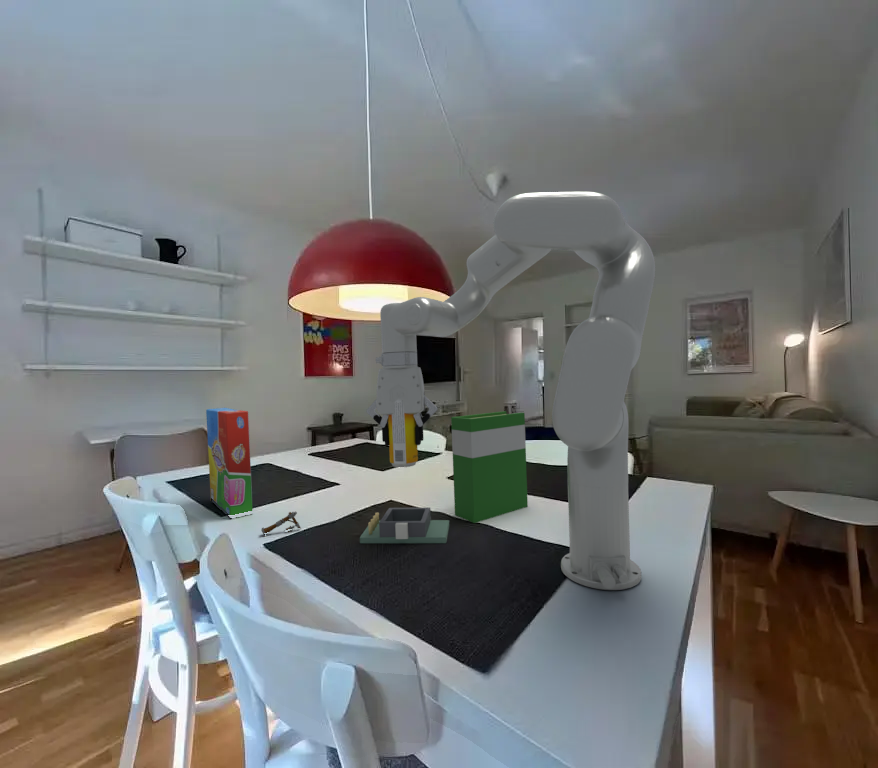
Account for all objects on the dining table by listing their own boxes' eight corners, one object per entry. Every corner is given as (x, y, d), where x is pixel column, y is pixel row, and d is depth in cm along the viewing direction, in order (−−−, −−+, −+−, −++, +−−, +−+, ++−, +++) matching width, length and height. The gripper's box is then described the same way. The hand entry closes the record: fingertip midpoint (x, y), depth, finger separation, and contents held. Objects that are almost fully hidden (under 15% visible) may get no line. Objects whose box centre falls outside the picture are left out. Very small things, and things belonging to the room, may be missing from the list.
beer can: (419, 461, 93) (417, 394, 92) (415, 467, 87) (412, 396, 86) (393, 462, 93) (390, 395, 93) (387, 468, 87) (384, 397, 87)
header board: (445, 544, 84) (445, 524, 84) (358, 544, 85) (357, 524, 85) (449, 525, 94) (448, 507, 94) (372, 525, 96) (371, 507, 96)
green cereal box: (507, 500, 111) (503, 411, 111) (527, 506, 105) (524, 412, 105) (454, 514, 101) (451, 417, 101) (474, 523, 95) (470, 419, 95)
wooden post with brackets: (304, 527, 95) (295, 510, 94) (270, 546, 92) (260, 529, 91) (304, 524, 96) (295, 508, 96) (271, 543, 94) (261, 527, 93)
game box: (210, 503, 119) (205, 409, 119) (230, 498, 123) (226, 407, 122) (231, 520, 104) (225, 412, 103) (253, 514, 107) (248, 410, 107)
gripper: (355, 362, 86) (359, 448, 87) (437, 359, 85) (441, 446, 85) (365, 363, 94) (368, 442, 94) (441, 360, 92) (444, 440, 93)
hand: (403, 443), depth 90 cm, fingers closed on beer can, 6 cm apart
